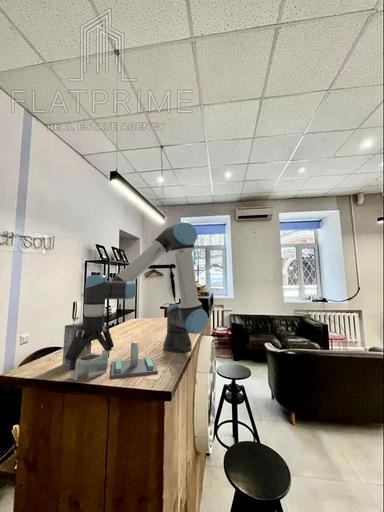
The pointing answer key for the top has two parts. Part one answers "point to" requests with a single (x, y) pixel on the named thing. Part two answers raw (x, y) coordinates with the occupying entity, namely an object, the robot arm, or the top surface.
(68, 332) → the coffee box
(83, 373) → the collar
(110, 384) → the top surface
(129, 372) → the board
